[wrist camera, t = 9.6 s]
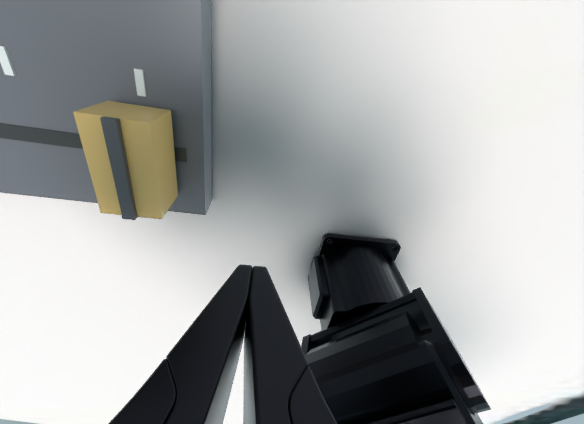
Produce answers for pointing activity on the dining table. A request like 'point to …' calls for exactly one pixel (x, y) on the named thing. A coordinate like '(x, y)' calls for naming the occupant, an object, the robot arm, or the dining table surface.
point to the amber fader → (129, 158)
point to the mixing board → (101, 88)
